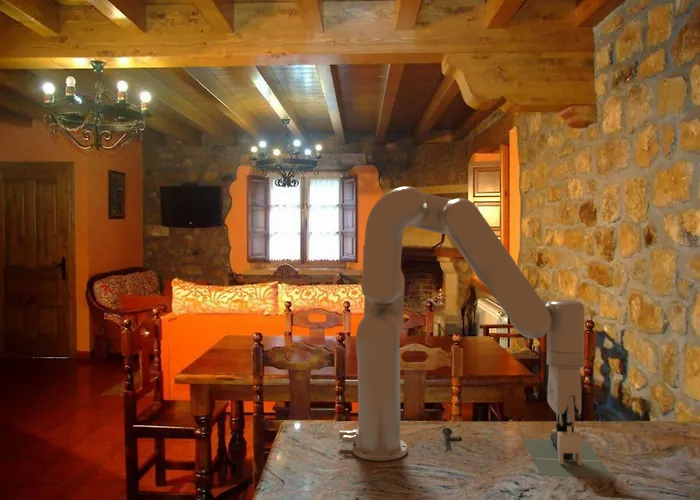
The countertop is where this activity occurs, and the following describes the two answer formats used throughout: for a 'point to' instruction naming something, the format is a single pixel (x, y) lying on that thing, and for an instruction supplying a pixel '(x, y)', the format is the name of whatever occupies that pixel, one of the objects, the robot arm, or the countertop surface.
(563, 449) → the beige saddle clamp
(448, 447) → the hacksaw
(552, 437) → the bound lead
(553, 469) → the cutting mat
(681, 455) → the countertop surface
